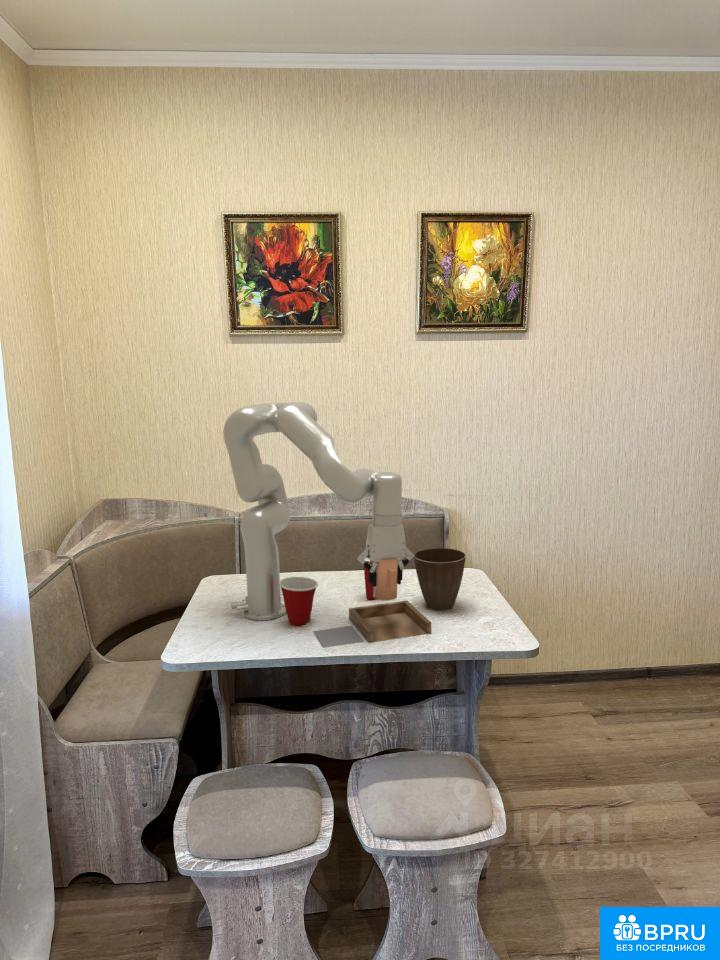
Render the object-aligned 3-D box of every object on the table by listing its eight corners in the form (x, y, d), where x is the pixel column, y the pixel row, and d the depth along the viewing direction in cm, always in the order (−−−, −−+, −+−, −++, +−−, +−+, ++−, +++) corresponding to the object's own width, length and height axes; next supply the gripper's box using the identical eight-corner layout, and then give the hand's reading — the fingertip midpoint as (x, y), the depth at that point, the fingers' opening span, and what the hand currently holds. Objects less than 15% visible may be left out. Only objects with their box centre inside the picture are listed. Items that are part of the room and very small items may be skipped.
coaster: (322, 649, 172) (322, 647, 172) (312, 633, 182) (312, 631, 182) (364, 643, 175) (364, 641, 175) (351, 627, 186) (351, 625, 186)
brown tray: (368, 644, 174) (368, 631, 174) (349, 620, 191) (348, 608, 190) (431, 635, 180) (431, 622, 179) (407, 612, 196) (407, 600, 195)
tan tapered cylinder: (370, 593, 186) (370, 554, 184) (392, 591, 188) (393, 552, 186) (381, 605, 177) (382, 564, 175) (404, 603, 179) (405, 562, 177)
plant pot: (408, 614, 194) (408, 560, 192) (419, 596, 208) (419, 546, 206) (461, 619, 190) (461, 564, 187) (468, 600, 204) (469, 549, 201)
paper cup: (388, 602, 204) (387, 557, 201) (362, 602, 204) (361, 557, 202) (387, 593, 212) (387, 550, 209) (363, 593, 212) (362, 550, 209)
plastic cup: (316, 630, 184) (315, 588, 182) (277, 630, 185) (275, 588, 183) (321, 615, 195) (320, 575, 193) (284, 615, 196) (282, 575, 194)
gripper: (411, 514, 186) (410, 576, 189) (351, 518, 181) (350, 582, 184) (422, 520, 179) (420, 585, 182) (359, 525, 174) (358, 591, 177)
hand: (385, 583), depth 183 cm, fingers closed on tan tapered cylinder, 6 cm apart
